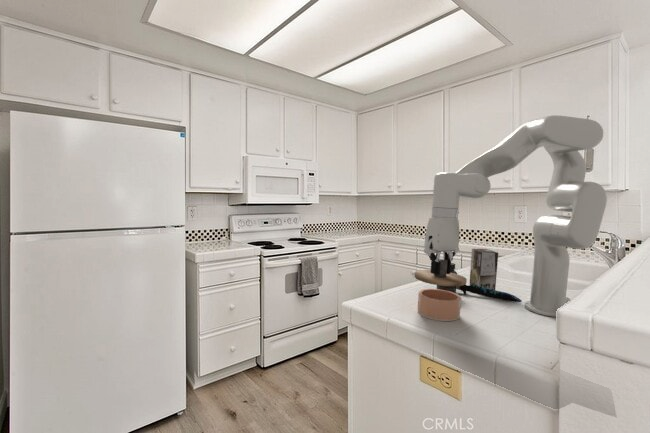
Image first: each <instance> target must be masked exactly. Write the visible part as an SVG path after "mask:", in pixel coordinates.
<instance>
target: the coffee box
mask: <svg viewBox="0 0 650 433" xmlns="http://www.w3.org/2000/svg"><path fill="white" fill-rule="evenodd" d="M470 257H471V258H470V268H469V269H470V270H469V271H470V273H469V285H468V286H470V285H472V283H474V284H475V285H477V286H480V287H483V288H486V289H491V290H496V285H497V275H498V274H497V272H498V264H499V263H498V262H499V261H498V260H499V252H496V251H494V250H491V249H489V248H471V256H470Z"/></svg>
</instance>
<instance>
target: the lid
mask: <svg viewBox="0 0 650 433" xmlns="http://www.w3.org/2000/svg"><path fill="white" fill-rule="evenodd" d="M439 262H440V263H441V265H440V274H439V275H436V274H433V273H431V269H423V270H417V271H415V272H414V278H415V279H416V280H418V281H421V282H422V283H425V284H430V285H435V286H437V285H440V286H463V285H467V278H466V277H465V276H463V275H460V274H458V273H457V274H455V273H450V274H447V262H448V260H445V259H444V258H440V259H439Z"/></svg>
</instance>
